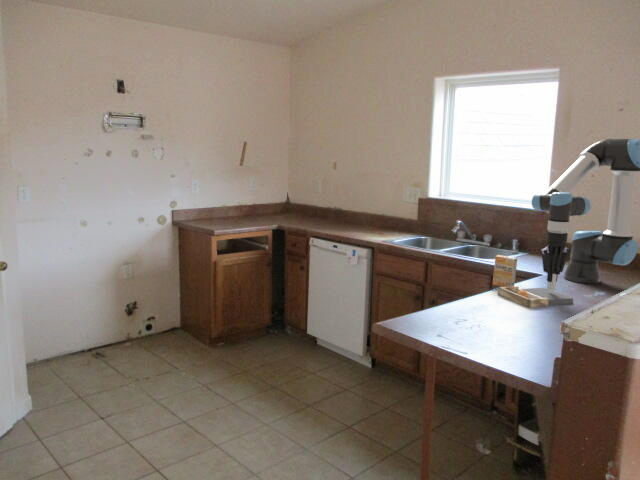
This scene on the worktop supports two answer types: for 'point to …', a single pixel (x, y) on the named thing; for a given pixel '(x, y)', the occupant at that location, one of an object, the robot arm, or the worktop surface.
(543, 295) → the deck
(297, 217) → the worktop surface
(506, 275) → the supplement box
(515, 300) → the wooden tray frame
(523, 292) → the ball
